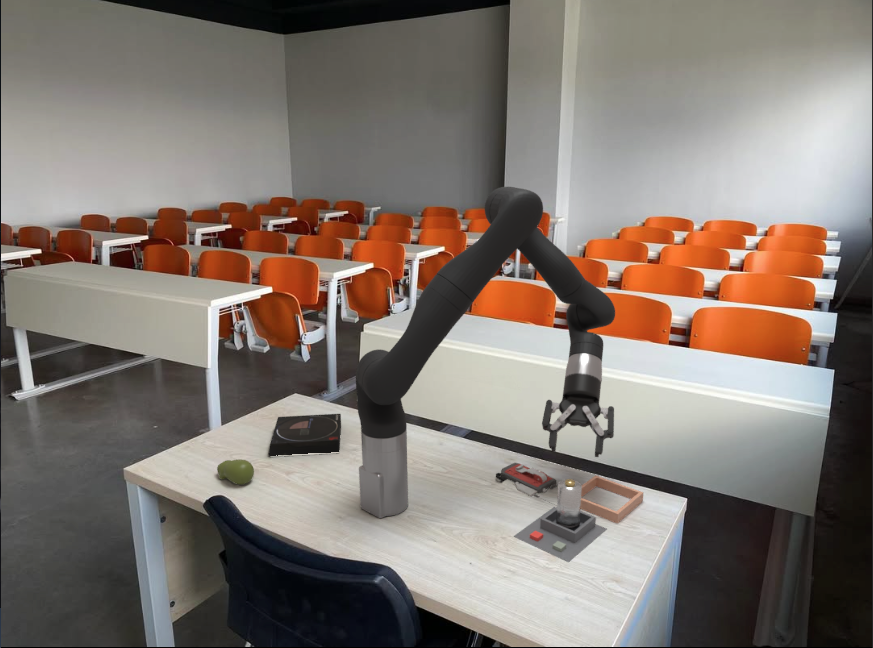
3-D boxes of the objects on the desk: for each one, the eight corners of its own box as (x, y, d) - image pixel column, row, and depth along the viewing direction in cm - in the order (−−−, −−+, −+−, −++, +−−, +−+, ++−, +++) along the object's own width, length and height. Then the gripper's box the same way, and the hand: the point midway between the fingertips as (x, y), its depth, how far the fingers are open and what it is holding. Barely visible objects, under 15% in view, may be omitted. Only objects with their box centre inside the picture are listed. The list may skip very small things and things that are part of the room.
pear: (236, 467, 144) (208, 462, 150) (241, 490, 145) (213, 484, 151) (256, 457, 148) (229, 453, 154) (261, 479, 149) (233, 474, 155)
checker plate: (568, 569, 118) (569, 552, 117) (513, 543, 125) (513, 526, 125) (606, 535, 128) (607, 519, 127) (553, 513, 135) (554, 498, 134)
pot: (616, 530, 129) (617, 514, 128) (567, 510, 137) (568, 494, 136) (642, 507, 137) (643, 492, 136) (594, 489, 144) (595, 475, 143)
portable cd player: (276, 430, 177) (275, 417, 176) (341, 427, 178) (340, 413, 177) (268, 459, 161) (267, 444, 160) (339, 454, 163) (338, 440, 162)
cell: (571, 536, 125) (574, 489, 122) (551, 527, 128) (553, 481, 125) (584, 526, 128) (586, 480, 125) (563, 518, 131) (566, 473, 128)
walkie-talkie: (488, 484, 148) (561, 519, 134) (488, 466, 147) (562, 500, 133) (514, 471, 154) (586, 503, 140) (514, 453, 153) (587, 485, 138)
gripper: (547, 369, 139) (537, 442, 131) (618, 375, 135) (611, 451, 127) (550, 384, 145) (540, 454, 137) (617, 390, 141) (611, 463, 133)
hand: (574, 453), depth 132 cm, fingers open, 8 cm apart
